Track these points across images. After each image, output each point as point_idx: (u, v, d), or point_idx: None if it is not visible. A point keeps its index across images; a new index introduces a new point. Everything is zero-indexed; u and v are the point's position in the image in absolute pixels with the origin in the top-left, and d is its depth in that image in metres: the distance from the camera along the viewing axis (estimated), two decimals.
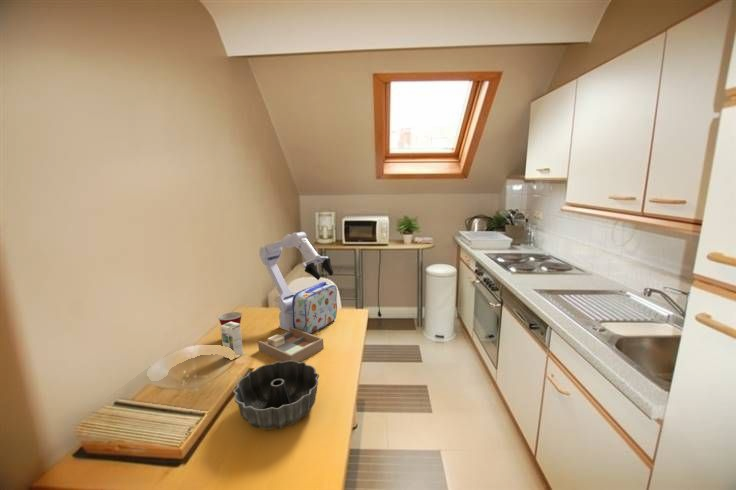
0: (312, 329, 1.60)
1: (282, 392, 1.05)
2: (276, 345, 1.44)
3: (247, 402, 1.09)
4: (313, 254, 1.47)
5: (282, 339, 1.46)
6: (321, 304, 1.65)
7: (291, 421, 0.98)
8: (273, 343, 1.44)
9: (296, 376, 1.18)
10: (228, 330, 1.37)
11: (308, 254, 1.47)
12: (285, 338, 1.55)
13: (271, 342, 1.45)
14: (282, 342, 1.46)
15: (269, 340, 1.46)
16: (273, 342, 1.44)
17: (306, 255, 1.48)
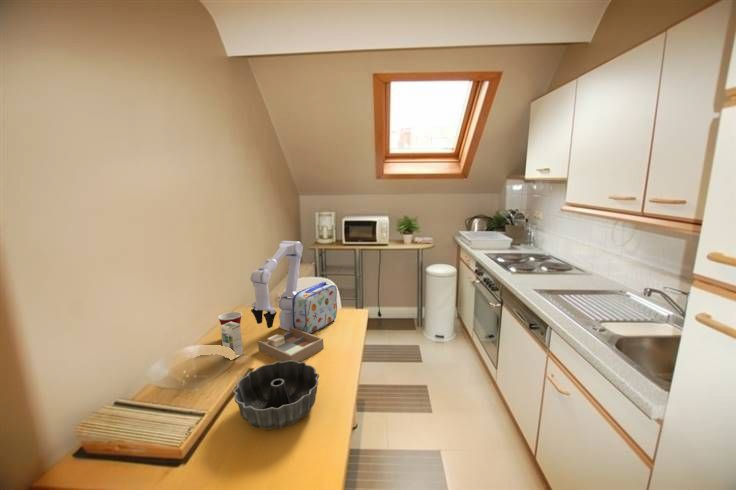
0: (312, 329, 1.60)
1: (282, 392, 1.05)
2: (276, 345, 1.44)
3: (247, 402, 1.09)
4: (256, 304, 1.47)
5: (282, 339, 1.46)
6: (321, 304, 1.65)
7: (291, 422, 0.98)
8: (273, 343, 1.44)
9: (296, 376, 1.18)
10: (228, 330, 1.37)
11: None
12: (285, 338, 1.55)
13: (271, 342, 1.45)
14: (282, 342, 1.46)
15: (269, 340, 1.46)
16: (273, 342, 1.44)
17: None
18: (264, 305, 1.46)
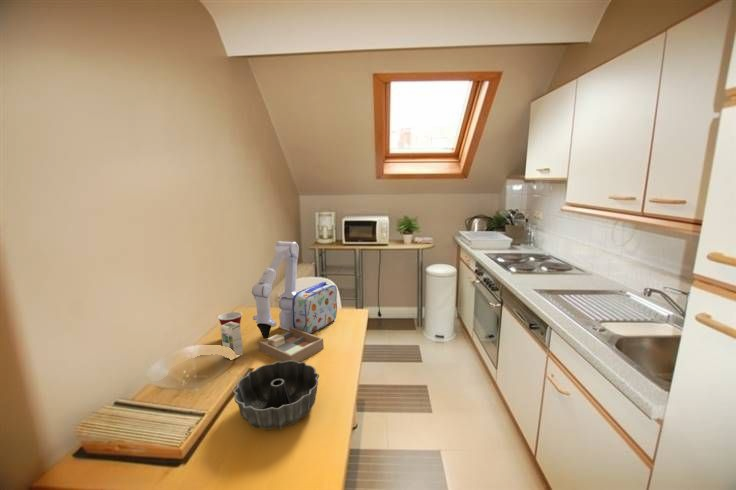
0: (312, 329, 1.60)
1: (282, 392, 1.05)
2: (276, 345, 1.44)
3: (247, 402, 1.09)
4: (257, 317, 1.48)
5: (282, 339, 1.46)
6: (321, 304, 1.65)
7: (291, 422, 0.98)
8: (273, 343, 1.44)
9: (296, 376, 1.18)
10: (228, 330, 1.37)
11: None
12: (285, 338, 1.55)
13: (271, 342, 1.45)
14: (282, 342, 1.46)
15: (269, 340, 1.46)
16: (273, 342, 1.44)
17: None
18: (265, 318, 1.47)
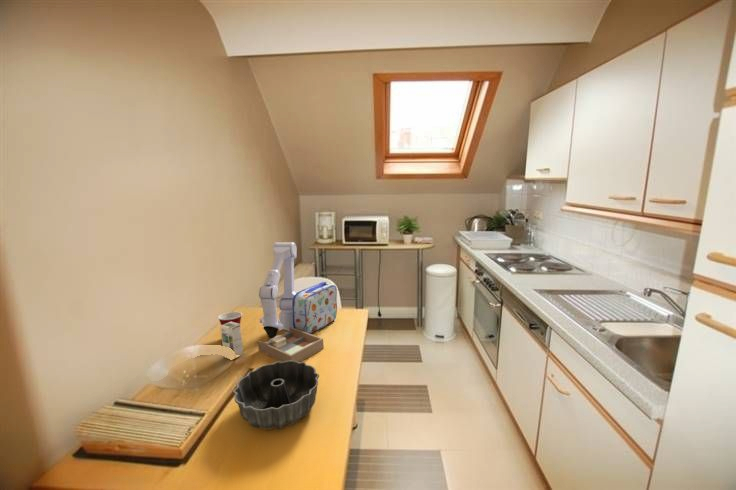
0: (312, 329, 1.60)
1: (282, 392, 1.05)
2: (278, 346, 1.43)
3: (247, 402, 1.09)
4: (264, 319, 1.45)
5: (284, 340, 1.45)
6: (321, 304, 1.65)
7: (291, 421, 0.98)
8: (275, 344, 1.43)
9: (296, 376, 1.18)
10: (228, 330, 1.37)
11: None
12: None
13: (272, 343, 1.44)
14: (284, 343, 1.46)
15: (271, 341, 1.45)
16: (275, 343, 1.43)
17: None
18: (272, 321, 1.44)
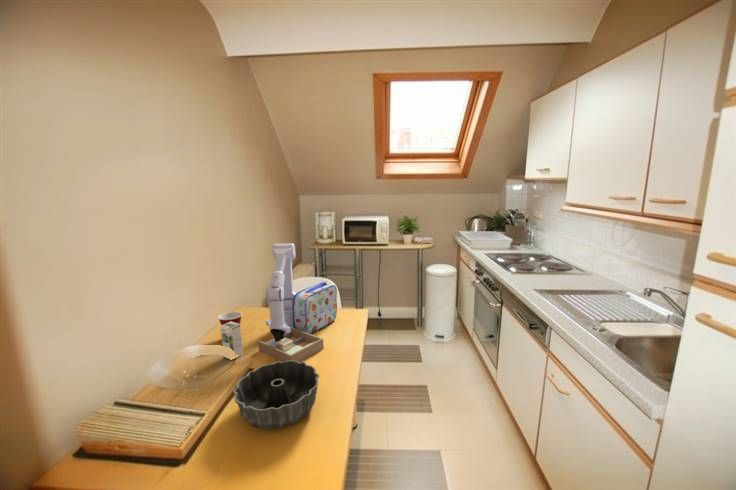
0: (312, 329, 1.60)
1: (282, 392, 1.05)
2: (285, 349, 1.40)
3: (247, 402, 1.09)
4: (271, 322, 1.42)
5: (291, 343, 1.43)
6: (321, 304, 1.65)
7: (291, 422, 0.98)
8: (282, 347, 1.40)
9: (296, 376, 1.18)
10: (228, 330, 1.37)
11: None
12: None
13: (279, 346, 1.41)
14: (291, 346, 1.43)
15: (277, 344, 1.42)
16: (282, 346, 1.40)
17: None
18: (279, 324, 1.41)
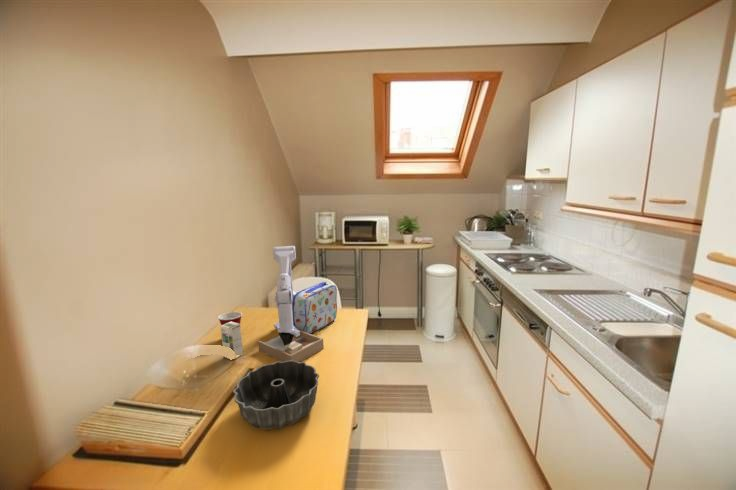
0: (312, 329, 1.60)
1: (282, 392, 1.05)
2: None
3: (247, 402, 1.09)
4: (279, 325, 1.39)
5: (300, 347, 1.39)
6: (321, 304, 1.65)
7: (291, 422, 0.98)
8: (291, 351, 1.37)
9: (296, 376, 1.18)
10: (228, 330, 1.37)
11: None
12: None
13: (288, 350, 1.38)
14: None
15: (286, 348, 1.38)
16: (291, 350, 1.37)
17: None
18: (287, 327, 1.38)
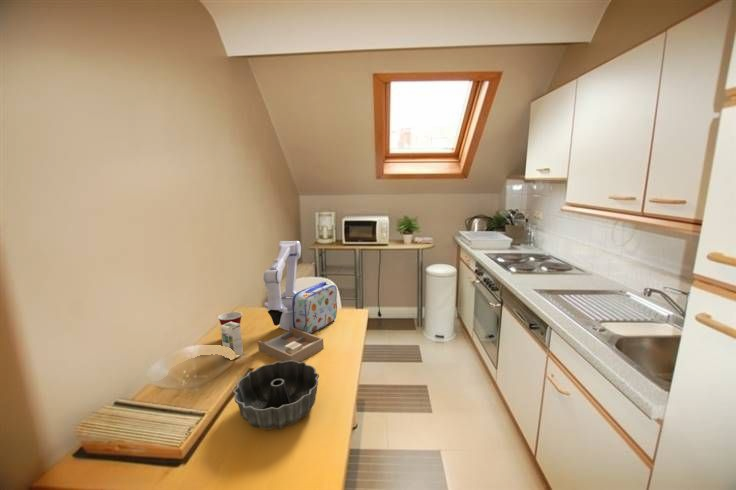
0: (312, 329, 1.60)
1: (282, 392, 1.05)
2: None
3: (247, 402, 1.09)
4: (268, 303, 1.47)
5: (300, 347, 1.39)
6: (321, 304, 1.65)
7: (291, 421, 0.98)
8: (291, 351, 1.37)
9: (296, 376, 1.18)
10: (228, 330, 1.37)
11: None
12: (285, 338, 1.55)
13: (288, 350, 1.38)
14: None
15: (286, 348, 1.38)
16: (291, 350, 1.37)
17: None
18: (276, 305, 1.46)
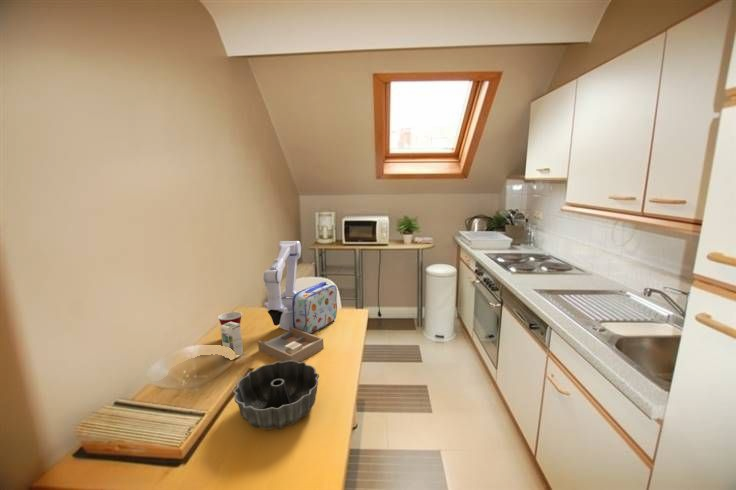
0: (312, 329, 1.60)
1: (282, 392, 1.05)
2: None
3: (247, 402, 1.09)
4: (268, 303, 1.47)
5: (300, 347, 1.39)
6: (321, 304, 1.65)
7: (291, 421, 0.98)
8: (291, 351, 1.37)
9: (296, 376, 1.18)
10: (228, 330, 1.37)
11: None
12: (285, 338, 1.55)
13: (288, 350, 1.38)
14: None
15: (286, 348, 1.38)
16: (291, 350, 1.37)
17: None
18: (276, 305, 1.46)
